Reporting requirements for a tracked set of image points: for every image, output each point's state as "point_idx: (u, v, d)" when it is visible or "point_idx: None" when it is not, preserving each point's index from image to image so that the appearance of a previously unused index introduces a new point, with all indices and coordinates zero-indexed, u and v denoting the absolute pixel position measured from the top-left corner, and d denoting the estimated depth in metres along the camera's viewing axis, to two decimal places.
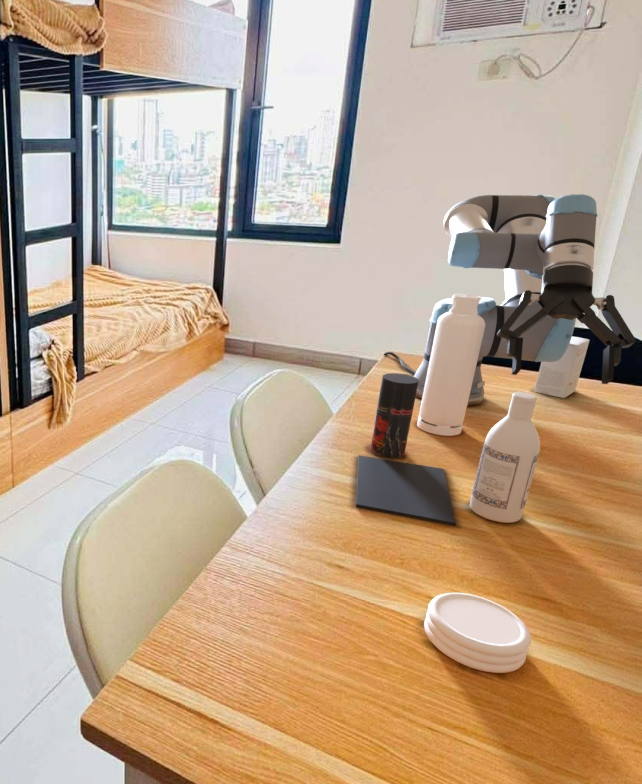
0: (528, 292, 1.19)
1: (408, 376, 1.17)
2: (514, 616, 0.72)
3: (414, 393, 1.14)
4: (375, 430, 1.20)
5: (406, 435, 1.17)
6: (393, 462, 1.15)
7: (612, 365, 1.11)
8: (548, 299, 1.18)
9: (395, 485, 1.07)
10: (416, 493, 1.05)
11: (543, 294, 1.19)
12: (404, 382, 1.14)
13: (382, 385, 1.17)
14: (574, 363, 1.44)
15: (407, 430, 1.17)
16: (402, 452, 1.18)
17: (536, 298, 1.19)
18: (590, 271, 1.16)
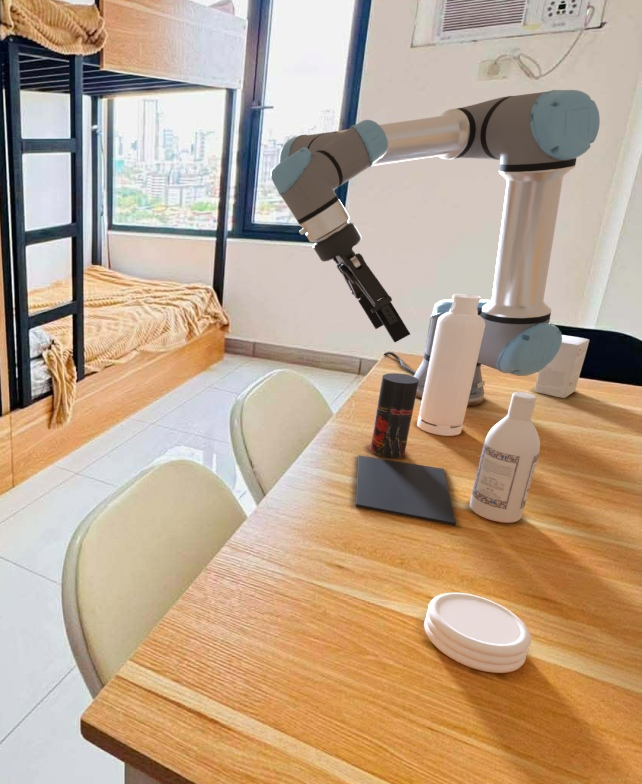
0: (333, 259, 1.19)
1: (408, 376, 1.17)
2: (514, 616, 0.72)
3: (414, 393, 1.14)
4: (375, 430, 1.20)
5: (406, 435, 1.17)
6: (393, 462, 1.15)
7: (387, 329, 1.07)
8: None
9: (395, 485, 1.07)
10: (416, 493, 1.05)
11: None
12: (404, 382, 1.14)
13: (382, 385, 1.17)
14: (574, 363, 1.44)
15: (407, 430, 1.17)
16: (402, 452, 1.18)
17: None
18: (323, 246, 1.10)
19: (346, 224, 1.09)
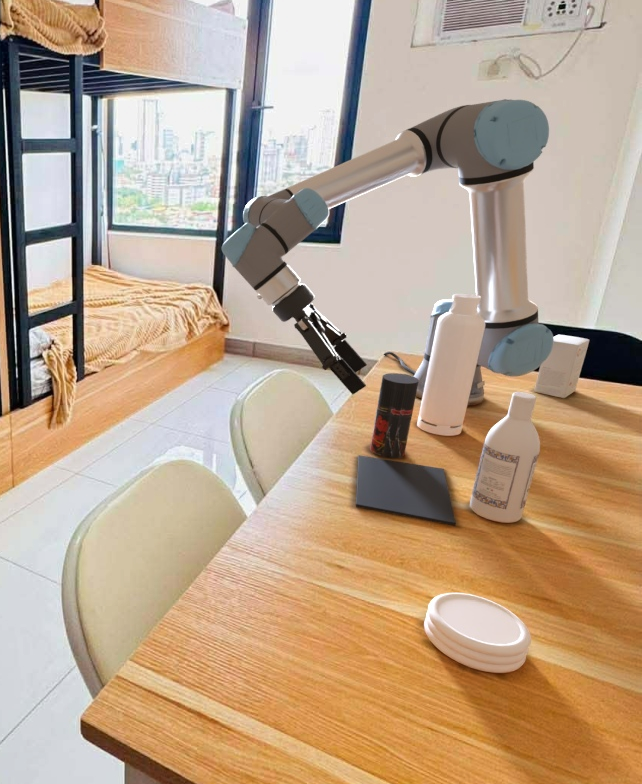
0: None
1: (408, 376, 1.17)
2: (514, 616, 0.72)
3: (414, 393, 1.14)
4: (375, 430, 1.20)
5: (406, 435, 1.17)
6: (393, 462, 1.15)
7: (343, 383, 1.14)
8: None
9: (395, 485, 1.07)
10: (416, 493, 1.05)
11: None
12: (404, 382, 1.14)
13: (382, 385, 1.17)
14: (574, 363, 1.44)
15: (407, 430, 1.17)
16: (402, 452, 1.18)
17: None
18: (276, 309, 1.19)
19: (295, 288, 1.17)
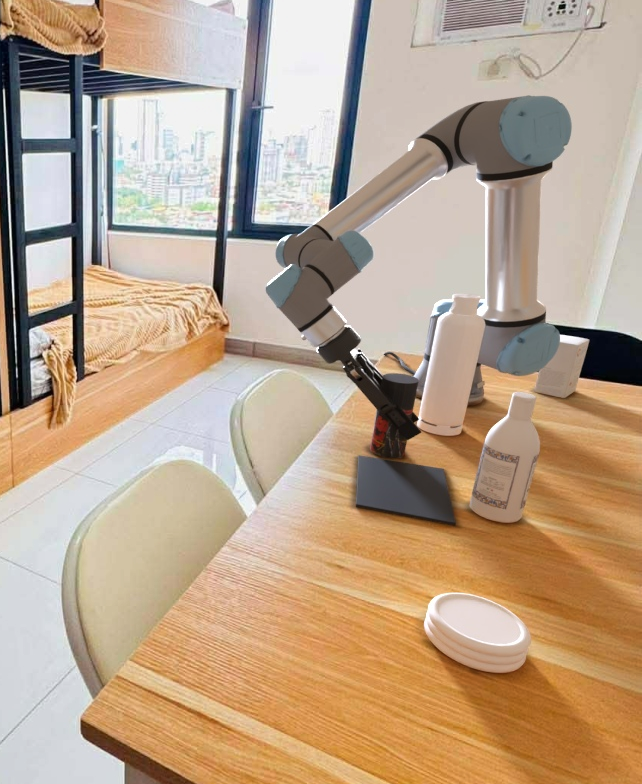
0: None
1: (408, 376, 1.17)
2: (514, 616, 0.72)
3: (414, 393, 1.14)
4: (375, 430, 1.20)
5: None
6: (393, 462, 1.15)
7: (398, 429, 1.16)
8: None
9: (395, 485, 1.07)
10: (416, 493, 1.05)
11: None
12: (404, 382, 1.14)
13: (382, 385, 1.17)
14: (574, 363, 1.44)
15: None
16: (402, 452, 1.18)
17: None
18: (322, 352, 1.18)
19: (342, 330, 1.16)
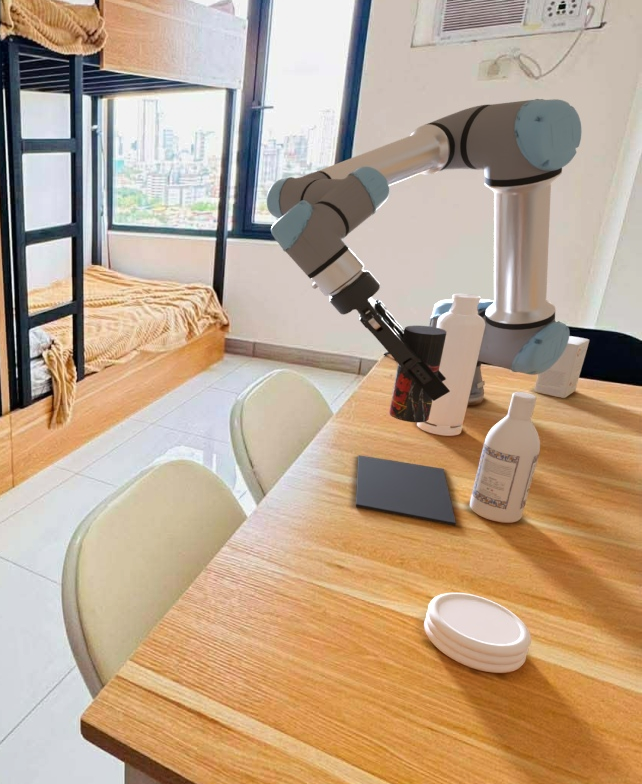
0: None
1: (434, 328, 1.02)
2: (514, 616, 0.72)
3: (441, 346, 1.00)
4: (396, 390, 1.05)
5: None
6: (393, 462, 1.15)
7: None
8: None
9: (395, 485, 1.07)
10: (416, 493, 1.05)
11: None
12: (430, 333, 0.99)
13: (404, 338, 1.02)
14: (574, 363, 1.44)
15: None
16: (426, 415, 1.04)
17: None
18: (335, 300, 1.03)
19: (359, 275, 1.01)
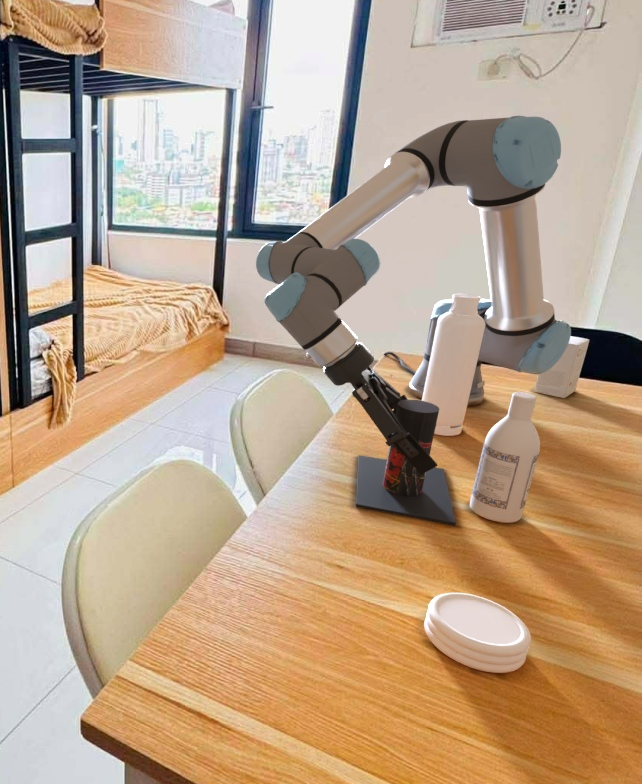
0: None
1: (427, 404, 1.02)
2: (514, 616, 0.72)
3: (434, 423, 1.00)
4: (389, 464, 1.05)
5: None
6: None
7: None
8: None
9: None
10: None
11: None
12: (423, 411, 0.99)
13: (397, 413, 1.02)
14: (574, 363, 1.44)
15: None
16: (419, 489, 1.04)
17: None
18: (329, 372, 1.03)
19: (352, 348, 1.01)
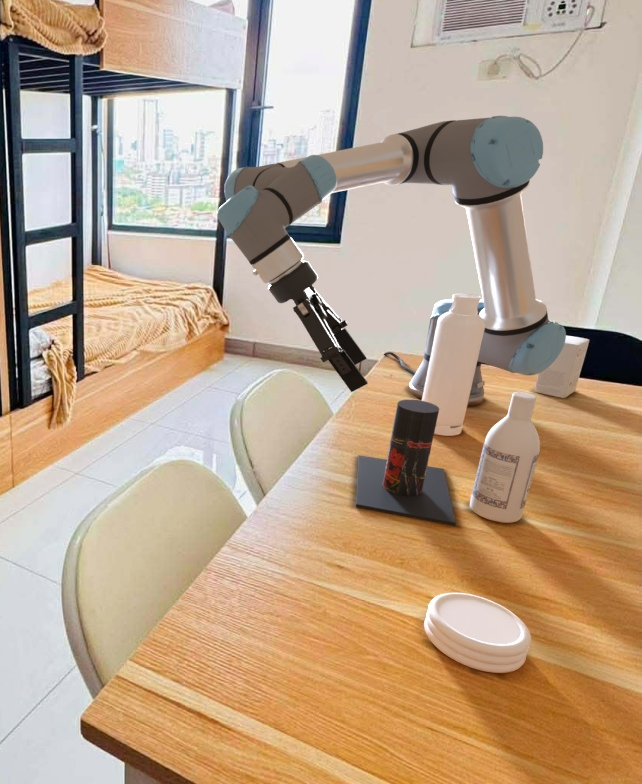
0: None
1: (427, 404, 1.02)
2: (514, 616, 0.72)
3: (434, 423, 1.00)
4: (389, 464, 1.05)
5: (424, 470, 1.03)
6: None
7: (342, 378, 1.00)
8: None
9: None
10: None
11: None
12: (423, 411, 0.99)
13: (397, 413, 1.02)
14: (574, 363, 1.44)
15: (425, 465, 1.03)
16: (419, 489, 1.04)
17: None
18: (274, 289, 1.04)
19: (298, 265, 1.02)
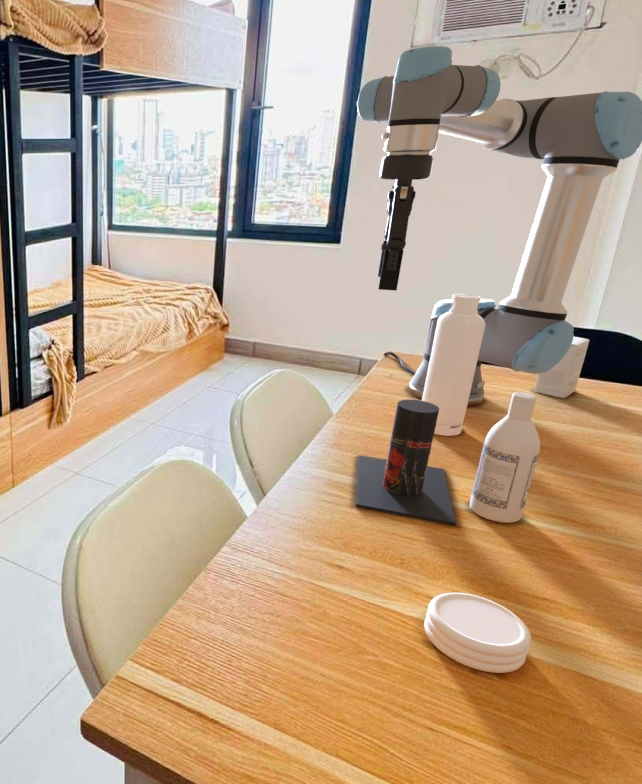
0: (392, 186, 1.11)
1: (427, 404, 1.02)
2: (514, 616, 0.72)
3: (434, 423, 1.00)
4: (389, 464, 1.05)
5: (424, 470, 1.03)
6: None
7: (380, 273, 1.04)
8: None
9: None
10: None
11: None
12: (423, 411, 0.99)
13: (397, 413, 1.02)
14: (574, 363, 1.44)
15: (425, 465, 1.03)
16: (419, 489, 1.04)
17: None
18: (390, 160, 1.02)
19: (426, 153, 1.00)
